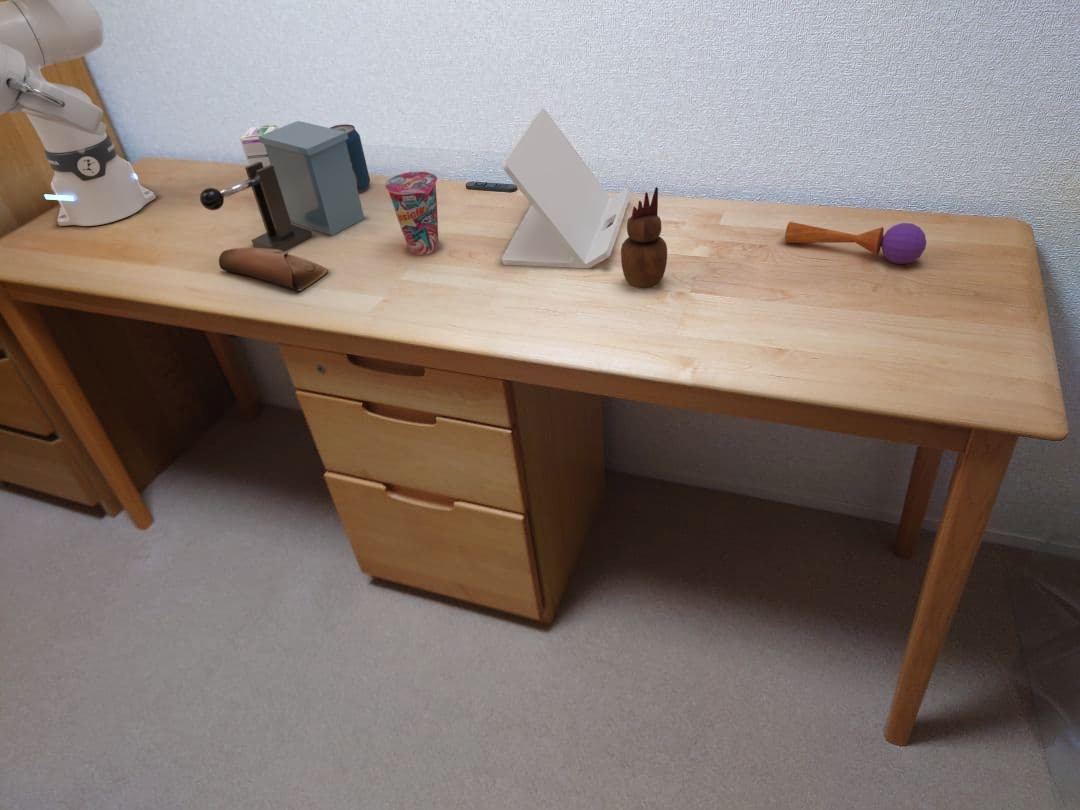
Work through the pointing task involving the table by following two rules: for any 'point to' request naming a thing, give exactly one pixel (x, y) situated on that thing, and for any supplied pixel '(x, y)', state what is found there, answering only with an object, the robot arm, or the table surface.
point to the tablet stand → (560, 202)
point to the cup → (416, 209)
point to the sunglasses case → (272, 266)
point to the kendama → (867, 240)
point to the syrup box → (256, 145)
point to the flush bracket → (274, 212)
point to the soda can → (356, 156)
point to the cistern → (314, 176)
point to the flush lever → (224, 193)
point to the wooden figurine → (644, 246)
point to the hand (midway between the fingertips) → (100, 129)
